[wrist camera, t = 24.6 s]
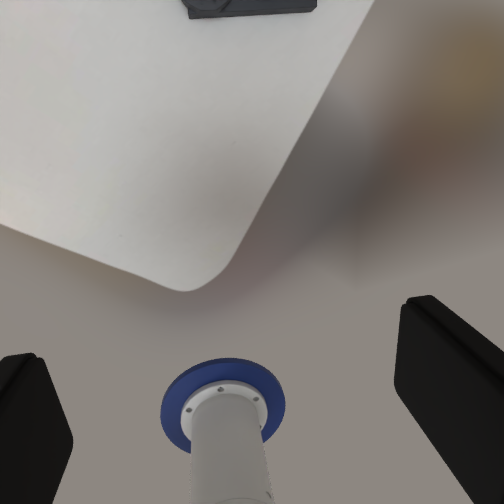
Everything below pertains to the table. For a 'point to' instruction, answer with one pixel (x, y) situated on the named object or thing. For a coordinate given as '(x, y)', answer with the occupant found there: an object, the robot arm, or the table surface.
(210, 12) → the scale
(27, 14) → the table surface
